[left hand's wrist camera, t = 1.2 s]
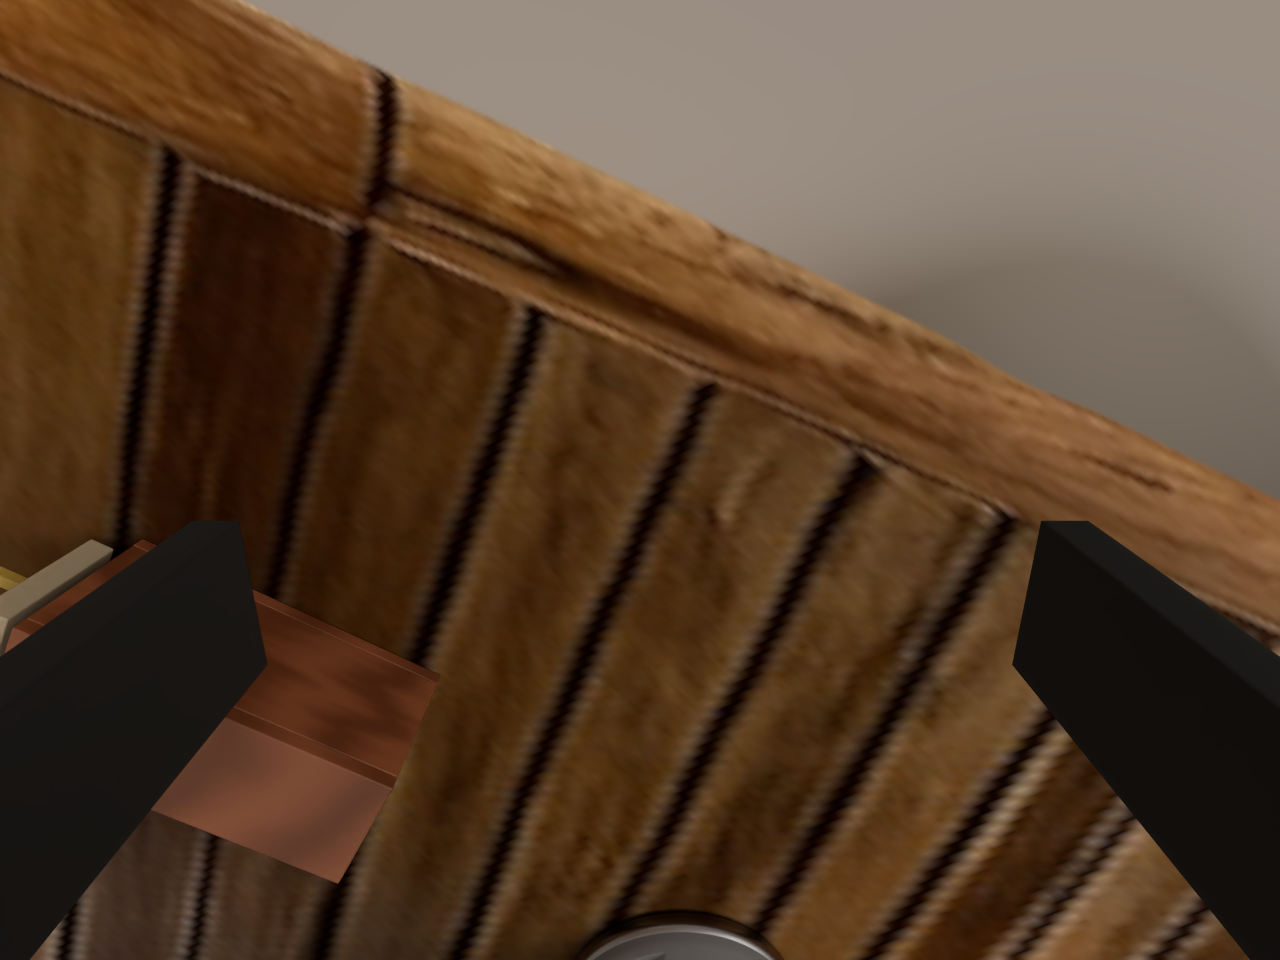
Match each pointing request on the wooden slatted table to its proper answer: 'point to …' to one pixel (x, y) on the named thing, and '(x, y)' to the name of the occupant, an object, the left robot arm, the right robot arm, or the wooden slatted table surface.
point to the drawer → (46, 585)
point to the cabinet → (292, 737)
